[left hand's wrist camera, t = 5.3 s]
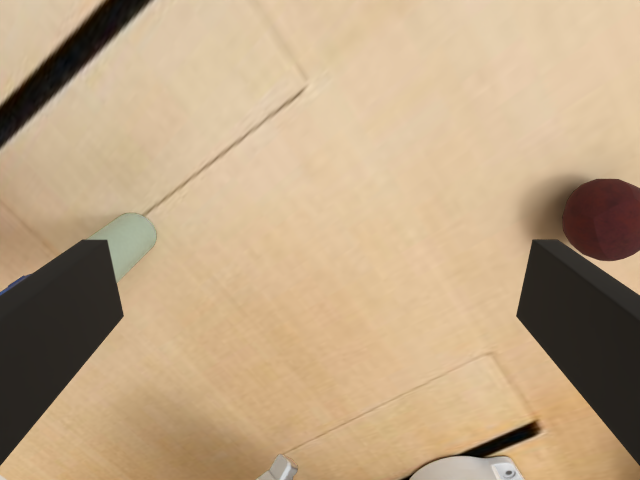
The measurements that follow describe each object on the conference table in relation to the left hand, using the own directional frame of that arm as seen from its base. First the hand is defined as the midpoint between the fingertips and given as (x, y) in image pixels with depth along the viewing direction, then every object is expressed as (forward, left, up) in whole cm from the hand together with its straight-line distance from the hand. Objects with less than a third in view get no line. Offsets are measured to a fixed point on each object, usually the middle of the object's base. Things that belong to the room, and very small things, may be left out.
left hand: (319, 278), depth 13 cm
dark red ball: (+6, +27, -28) cm, 39 cm away
